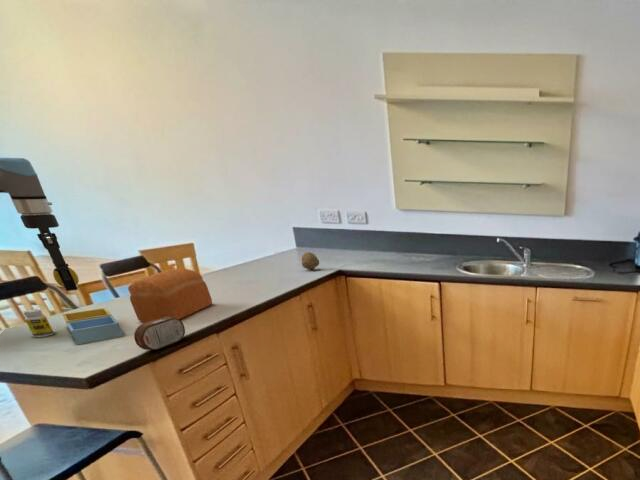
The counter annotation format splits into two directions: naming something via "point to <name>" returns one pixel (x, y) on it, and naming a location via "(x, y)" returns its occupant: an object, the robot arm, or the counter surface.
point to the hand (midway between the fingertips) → (71, 288)
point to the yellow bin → (86, 315)
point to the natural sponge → (309, 261)
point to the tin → (159, 333)
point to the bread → (169, 295)
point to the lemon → (59, 281)
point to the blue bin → (95, 329)
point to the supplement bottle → (38, 323)
